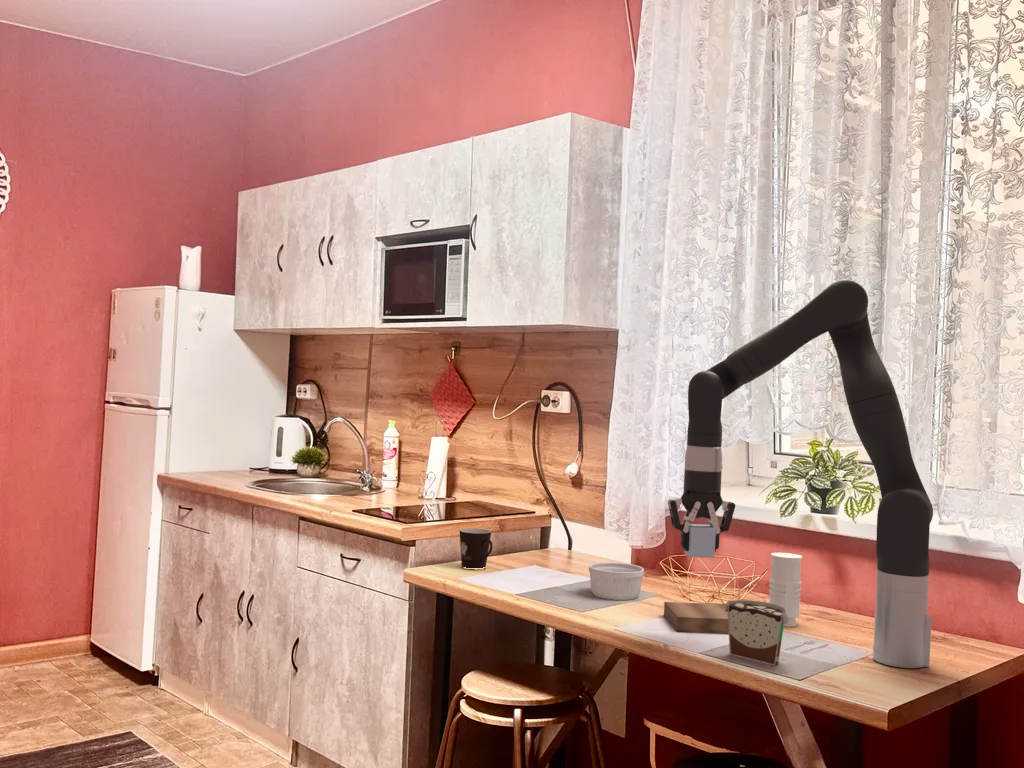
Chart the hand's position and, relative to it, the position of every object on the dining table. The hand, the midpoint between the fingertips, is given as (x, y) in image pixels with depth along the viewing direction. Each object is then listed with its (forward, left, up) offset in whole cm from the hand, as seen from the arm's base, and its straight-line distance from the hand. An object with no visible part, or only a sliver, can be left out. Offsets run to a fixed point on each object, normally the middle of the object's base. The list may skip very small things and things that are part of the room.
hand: (699, 550), depth 195 cm
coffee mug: (+45, -61, -17) cm, 78 cm away
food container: (-9, +15, -18) cm, 25 cm away
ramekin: (+11, -35, -18) cm, 41 cm away
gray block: (0, 0, -1) cm, 1 cm away
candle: (-23, -13, -17) cm, 32 cm away
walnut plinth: (-4, -9, -17) cm, 20 cm away
